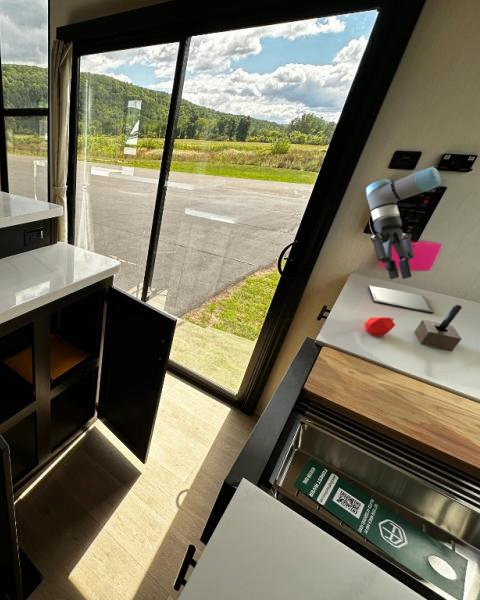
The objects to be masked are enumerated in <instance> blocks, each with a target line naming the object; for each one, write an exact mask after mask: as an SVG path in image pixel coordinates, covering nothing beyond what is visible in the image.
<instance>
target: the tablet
mask: <svg viewBox="0 0 480 600" xmlns="http://www.w3.org/2000/svg"><path fill="white" fill-rule="evenodd" d="M368 289H369V290H368V291H369V293H370V295H371V298H372V301H373V303H377V304H382V305H387V306H391V307H397V308H401V309H407V310H411V311H416V312H422V313H427V314H432V315H433V314H434V313H435V312H434V310H433V309H432V307H431V305H430V303H429V302H428V299H426V297H425V295H424V294H418V293H413V292H407V291H401V290H395V289H390V288H385V287H379V286H373V285H368Z"/></svg>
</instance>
